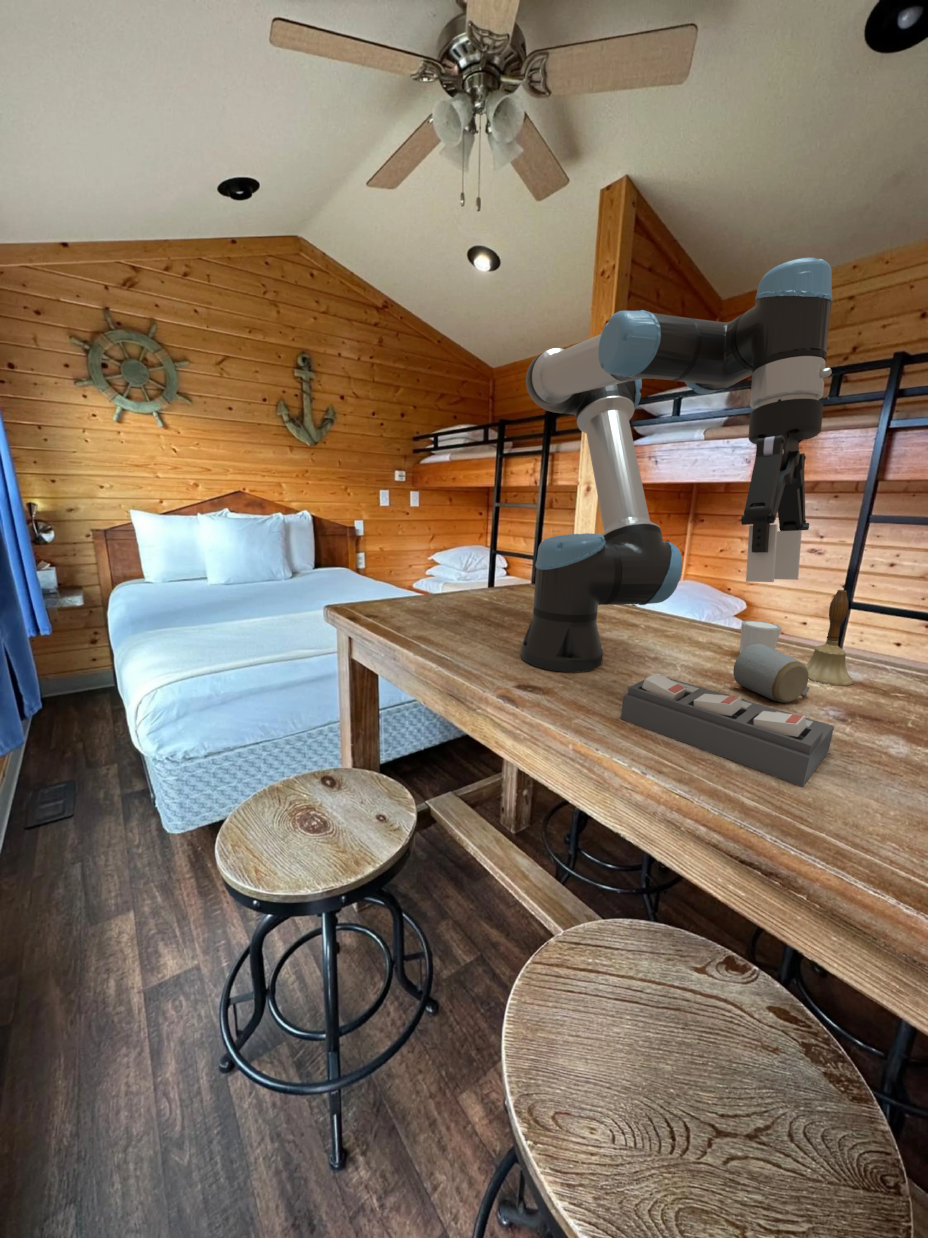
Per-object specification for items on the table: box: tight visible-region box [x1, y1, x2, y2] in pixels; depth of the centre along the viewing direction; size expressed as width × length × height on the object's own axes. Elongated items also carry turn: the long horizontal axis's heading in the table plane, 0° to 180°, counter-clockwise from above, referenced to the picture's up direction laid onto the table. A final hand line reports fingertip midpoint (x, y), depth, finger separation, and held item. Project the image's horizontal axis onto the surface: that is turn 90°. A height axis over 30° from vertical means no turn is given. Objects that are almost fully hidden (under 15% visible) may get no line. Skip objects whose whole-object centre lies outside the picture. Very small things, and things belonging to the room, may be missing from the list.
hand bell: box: [804, 589, 854, 687], centre depth 88 cm, size 8×8×16 cm
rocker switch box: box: [620, 676, 835, 788], centre depth 66 cm, size 22×12×5 cm, turn 43°
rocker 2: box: [753, 711, 807, 737], centre depth 58 cm, size 4×4×2 cm
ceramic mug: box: [733, 644, 810, 703], centre depth 80 cm, size 11×8×8 cm
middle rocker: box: [694, 694, 742, 716], centre depth 63 cm, size 4×4×2 cm
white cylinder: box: [739, 620, 782, 653], centre depth 98 cm, size 7×7×7 cm
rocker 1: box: [642, 673, 687, 701], centre depth 68 cm, size 4×4×2 cm
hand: (773, 580), depth 63 cm, fingers open, 13 cm apart
